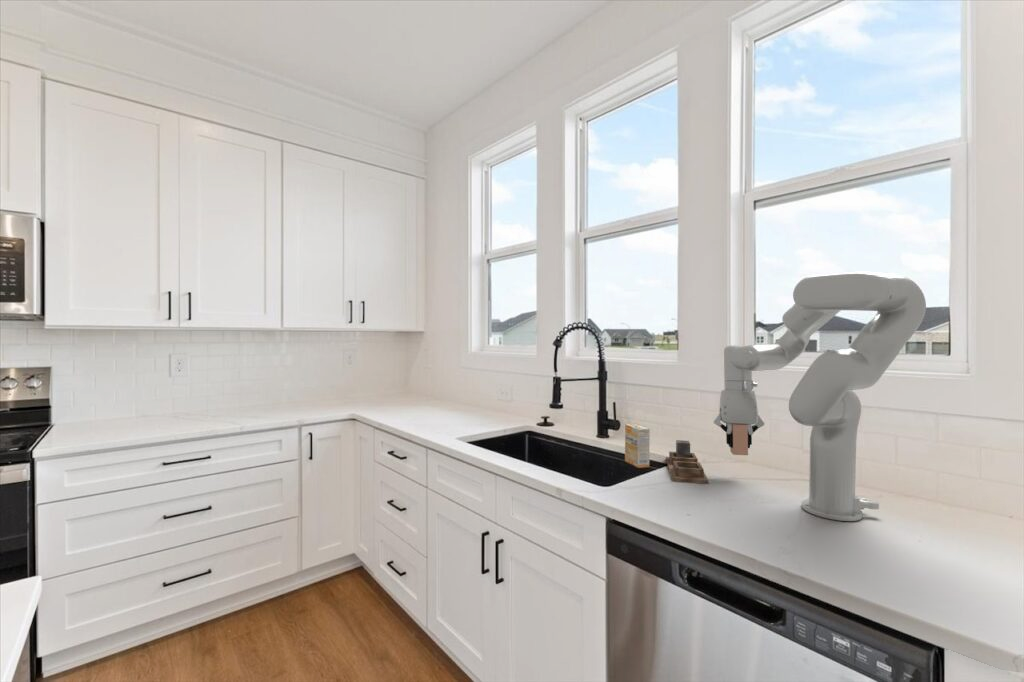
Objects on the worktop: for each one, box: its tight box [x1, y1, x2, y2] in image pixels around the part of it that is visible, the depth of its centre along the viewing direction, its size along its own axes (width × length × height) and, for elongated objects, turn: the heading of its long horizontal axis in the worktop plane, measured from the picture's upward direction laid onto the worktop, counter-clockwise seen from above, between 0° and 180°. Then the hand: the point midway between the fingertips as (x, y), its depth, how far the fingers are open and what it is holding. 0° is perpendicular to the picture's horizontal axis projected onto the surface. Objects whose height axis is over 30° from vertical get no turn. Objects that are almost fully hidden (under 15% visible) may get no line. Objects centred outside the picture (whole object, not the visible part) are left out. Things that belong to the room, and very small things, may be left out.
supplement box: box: [624, 423, 651, 469], centre depth 158 cm, size 8×5×13 cm, turn 17°
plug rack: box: [665, 439, 709, 485], centre depth 151 cm, size 10×24×8 cm, turn 167°
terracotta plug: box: [729, 424, 749, 456], centre depth 141 cm, size 4×4×9 cm
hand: (738, 446), depth 141 cm, fingers closed on terracotta plug, 4 cm apart
